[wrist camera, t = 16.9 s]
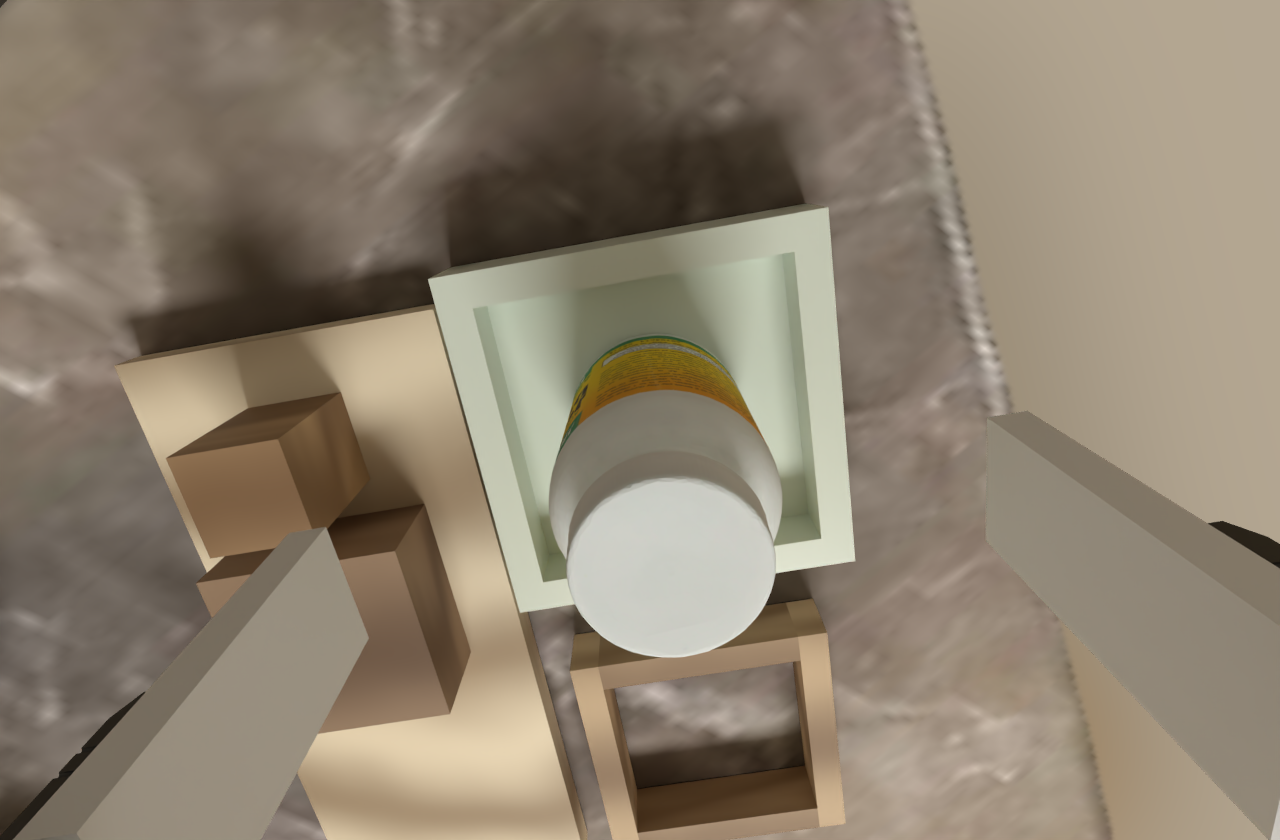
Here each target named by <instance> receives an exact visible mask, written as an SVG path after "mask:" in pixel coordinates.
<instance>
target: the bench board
mask: <svg viewBox="0 0 1280 840" xmlns="http://www.w3.org/2000/svg"><path fill="white" fill-rule="evenodd" d="M114 367H115V369H116V371H117V374H118V376H119V378H120V380H121V382H122V385H123V387H124V389H125V391H126V394H127V396H128V398H129V400H130V402H131V405H132V407H133V409H134V411H135V414H136V416H137V418H138V420H139V422H140V425H141V427H142V429H143V431H144V433H145V436H146V438H147V440H148V442H149V445H150V447H151V449H152V451H153V453H154V456H155V458H156V460H157V462H158V465H159V467H160V469H161V471H162V473H163V476H164V478H165V480H166V482H167V485H168V487H169V489H170V491H171V493H172V496H173V498H174V500H175V502H176V505H177V507H178V509H179V511H180V513H181V516H182V518H183V520H184V522H185V525H186V527H187V529H188V531H189V533H190V536H191V538H192V540H193V542H194V545H195V547H196V549H197V551H198V553H199V556H200V558H201V560H202V562H203V565H204V567H205V569H206V571H207V572H208V571H210V570H211V569H212V568H213V567H214V566H215V565H216V564H217V563H218V562H219V561H220V560H221V559H222V558H223V557H224V556H229V555H236V554H242V553H248V552H254V551H260V550H266V549H273V548H276V547H277V546H278V545H279V544H280V542H281V541H282V540H283V539H284V538H285V537H286V536H287V535H288V534H289V533H292V532H298V531H304V530H310V529H316V528H322V527H326V528H327V529H328V528H329V526H330V525H331V524H332V523H333V522H334V521H335V519H336V518H341V517H348V516H354V515H360V514H366V513H372V512H378V511H384V510H390V509H396V508H402V507H408V506H414V505H421V504H425V506H426V510H427V513H428V516H429V519H430V522H431V525H432V529H433V532H434V535H435V538H436V541H437V545H438V548H439V551H440V554H441V557H442V561H443V564H444V567H445V570H446V573H447V577H448V580H449V583H450V586H451V589H452V593H453V596H454V599H455V602H456V605H457V608H458V612H459V615H460V618H461V621H462V624H463V628H464V631H465V634H466V637H467V640H468V644H469V647H470V650H471V654H470V657H469V660H468V663H467V666H466V669H465V672H464V675H463V677H462V680H461V683H460V686H459V689H458V692H457V695H456V698H455V701H454V704H453V707H452V710H451V713H450V714H448V715H441V716H434V717H428V718H421V719H414V720H408V721H401V722H394V723H387V724H381V725H374V726H367V727H361V728H354V729H347V730H340V731H334V732H327V733H320V734H317V736H316V738H315V740H314V742H313V743H312V745H311V747H310V749H309V751H308V753H307V755H306V756H305V758H304V760H303V762H302V764H301V766H300V768H299V770H298V771H297V773H298V776H299V778H300V780H301V782H302V784H303V787H304V789H305V791H306V793H307V796H308V798H309V800H310V802H311V804H312V807H313V809H314V811H315V813H316V815H317V818H318V820H319V822H320V824H321V827H322V829H323V831H324V833H325V835H326V838H327V840H587V829H586V825H585V821H584V818H583V814H582V810H581V807H580V803H579V799H578V796H577V792H576V788H575V785H574V781H573V777H572V774H571V770H570V766H569V762H568V759H567V755H566V751H565V748H564V744H563V740H562V737H561V733H560V729H559V726H558V722H557V718H556V715H555V711H554V707H553V704H552V700H551V696H550V692H549V689H548V685H547V681H546V678H545V674H544V670H543V667H542V663H541V659H540V656H539V652H538V648H537V645H536V641H535V637H534V634H533V630H532V626H531V622H530V619H529V615H528V612H522V613H520V611H519V607H518V604H517V600H516V597H515V593H514V589H513V586H512V582H511V578H510V575H509V571H508V568H507V564H506V560H505V557H504V553H503V550H502V546H501V542H500V539H499V535H498V531H497V528H496V524H495V521H494V517H493V513H492V510H491V506H490V502H489V499H488V495H487V492H486V488H485V484H484V481H483V477H482V473H481V470H480V466H479V463H478V459H477V455H476V452H475V448H474V445H473V441H472V437H471V434H470V430H469V426H468V423H467V419H466V416H465V412H464V408H463V405H462V401H461V397H460V394H459V390H458V387H457V383H456V379H455V376H454V372H453V368H452V365H451V361H450V358H449V354H448V350H447V347H446V343H445V340H444V336H443V332H442V329H441V325H440V321H439V318H438V314H437V311H436V307H435V304H430V305H425V306H419V307H413V308H408V309H402V310H396V311H391V312H385V313H380V314H374V315H368V316H363V317H357V318H351V319H346V320H340V321H335V322H329V323H323V324H318V325H312V326H306V327H301V328H295V329H290V330H284V331H278V332H273V333H267V334H261V335H256V336H250V337H245V338H239V339H233V340H228V341H222V342H216V343H211V344H205V345H199V346H194V347H188V348H183V349H177V350H171V351H166V352H160V353H154V354H149V355H143V356H139V357H137V358H134V359H131V360H128V361H126V362H123V363H120V364H118V365H115V366H114Z"/></svg>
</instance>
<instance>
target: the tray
mask: <svg viewBox="0 0 1280 840" xmlns="http://www.w3.org/2000/svg"><path fill="white" fill-rule="evenodd" d="M428 282H429V285H430V289H431V292H432V296H433V300H434V303H435V307H436V311H437V314H438V318H439V321H440V325H441V329H442V332H443V336H444V340H445V343H446V347H447V350H448V354H449V358H450V361H451V365H452V368H453V372H454V376H455V379H456V383H457V387H458V390H459V394H460V397H461V401H462V405H463V408H464V412H465V416H466V419H467V423H468V426H469V430H470V434H471V437H472V441H473V445H474V448H475V452H476V455H477V459H478V463H479V466H480V470H481V473H482V477H483V481H484V484H485V488H486V492H487V495H488V499H489V502H490V506H491V510H492V513H493V517H494V521H495V524H496V528H497V531H498V535H499V539H500V542H501V546H502V550H503V553H504V557H505V560H506V564H507V568H508V571H509V575H510V578H511V582H512V586H513V589H514V593H515V597H516V600H517V604H518V607H519V611H520V613H522V612H528V611H535V610H541V609H548V608H554V607H561V606H567V605H573V604H575V603H574V601H573V599H572V596H571V593H570V590H569V586H568V581H567V575H566V558H565V557H564V555H563V553H562V552H561V550H560V548H559V546H558V544H557V541H556V539H555V536H554V533H553V530H552V526H551V521H550V514H549V488H550V482H551V476H552V472H553V468H554V465H555V461H556V458H557V454H558V451H559V448H560V444H561V441H562V438H563V434H564V431H565V428H566V424H567V421H568V417H569V414H570V410H571V407H572V403H573V399H574V396H575V393H576V390H577V387H578V385H579V383H580V381H581V379H582V377H583V376H584V374H585V372H586V371H587V370H588V368H589V367H590V366H591V365H592V363H593V362H594V361H595V360H596V359H597V358H598V357H599V356H601V355H602V354H603V353H604V352H605V351H607V350H608V349H609V348H611V347H612V346H614V345H616V344H617V343H619V342H621V341H623V340H625V339H628V338H631V337H634V336H638V335H645V334H669V335H675V336H679V337H683V338H686V339H688V340H691V341H693V342H695V343H697V344H699V345H701V346H702V347H704V348H705V349H707V350H708V351H709V352H711V353H712V354H713V355H714V356H715V357H716V358H717V359H718V360H719V361H720V362H721V363H722V364H723V365H724V366H725V367H726V369H727V370H728V371H729V373H730V374H731V376H732V378H733V379H734V381H735V383H736V385H737V387H738V389H739V391H740V392H741V394H742V397H743V399H744V401H745V403H746V405H747V407H748V409H749V411H750V413H751V415H752V417H753V419H754V420H755V422H756V424H757V426H758V428H759V430H760V432H761V434H762V436H763V438H764V440H765V442H766V444H767V445H768V447H769V450H770V452H771V454H772V456H773V458H774V460H775V463H776V466H777V469H778V473H779V477H780V481H781V488H782V514H781V519H780V524H779V529H778V532H777V535H776V538H775V540H774V548H775V553H776V573H780V572H787V571H793V570H800V569H806V568H813V567H819V566H825V565H832V564H838V563H845V562H851V561H855V553H854V540H853V527H852V514H851V500H850V487H849V474H848V461H847V448H846V435H845V421H844V408H843V395H842V382H841V369H840V356H839V342H838V329H837V316H836V303H835V290H834V277H833V263H832V250H831V237H830V224H829V211H828V207H824V206H818V205H812V204H800V205H795V206H789V207H784V208H778V209H772V210H767V211H761V212H756V213H750V214H745V215H739V216H734V217H728V218H722V219H717V220H711V221H706V222H700V223H695V224H689V225H684V226H678V227H672V228H667V229H661V230H656V231H650V232H645V233H639V234H634V235H628V236H622V237H617V238H611V239H606V240H600V241H595V242H589V243H584V244H578V245H573V246H567V247H561V248H556V249H550V250H545V251H539V252H534V253H528V254H523V255H517V256H511V257H506V258H500V259H495V260H489V261H484V262H478V263H473V264H467V265H461V266H456V267H451V268H449V269H447V270H445V271H443V272H441V273H439V274H437V275H435V276H433V277H431V278H429V279H428Z"/></svg>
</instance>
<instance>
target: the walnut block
mask: <svg viewBox="0 0 1280 840" xmlns="http://www.w3.org/2000/svg"><path fill="white" fill-rule="evenodd" d="M327 531H328V533H329V536H330V539H331V541H332V544H333V546H334V549H335V551H336V554H337V557H338V559H339V562H340V564H341V567H342V570H343V572H344V575H345V577H346V580H347V583H348V585H349V588H350V590H351V593H352V595H353V598H354V601H355V603H356V606H357V608H358V611H359V614H360V616H361V619H362V621H363V624H364V627H365V629H366V632H367V634H368V637H369V639H368V641H367V643H366V644H365V646H364V648H363V650H362V652H361V654H360V656H359V658H358V659H357V661H356V663H355V665H354V667H353V669H352V671H351V672H350V674H349V676H348V678H347V680H346V682H345V684H344V686H343V687H342V689H341V691H340V693H339V695H338V697H337V699H336V700H335V702H334V704H333V706H332V708H331V710H330V712H329V714H328V715H327V717H326V719H325V721H324V723H323V725H322V727H321V728H320V730H319V732H318V734H320V733H327V732H334V731H340V730H347V729H354V728H361V727H367V726H374V725H381V724H387V723H394V722H401V721H408V720H414V719H421V718H428V717H434V716H441V715H448V714H450V713H451V710H452V707H453V704H454V701H455V698H456V695H457V692H458V689H459V686H460V683H461V680H462V677H463V675H464V672H465V669H466V666H467V663H468V660H469V657H470V654H471V650H470V647H469V644H468V640H467V637H466V634H465V631H464V628H463V624H462V621H461V618H460V615H459V612H458V608H457V605H456V602H455V599H454V596H453V593H452V589H451V586H450V583H449V580H448V577H447V573H446V570H445V567H444V564H443V561H442V557H441V554H440V551H439V548H438V545H437V541H436V538H435V535H434V532H433V529H432V525H431V522H430V519H429V516H428V513H427V510H426V506H425V504H421V505H414V506H408V507H402V508H396V509H390V510H384V511H378V512H372V513H366V514H360V515H354V516H348V517H341V518H336V519H335V521H334V522H333V523H332V524H331V525H330V526H329V528H328V529H327ZM274 549H275V548H273V549H266V550H260V551H254V552H248V553H242V554H236V555H229V556H224V557H223V558H222V559H221V560H220V561H219V562H218V563H217V564H216V565H215V566H214V567H213V568H212V569H211V570H210V571H208V572H207V573H206V574H205V575H204V576H203V577H202V578H201V579H200V580H199V581H198V582H197V583H196V584H197V586H198V589H199V591H200V593H201V595H202V597H203V599H204V602H205V604H206V606H207V608H208V610H209V613H210V615H211V617H212V618H213V617H214V616H215V615H216V614H217V612H218V611H219V610H220V609H221V608H222V607H223V606H224V605H225V604H226V602H227V601H228V600H229V599H230V598H231V597H232V596H233V595H234V594H235V592H236V591H237V590H238V589H239V588H240V587H241V586H242V585H243V584H244V582H245V581H246V580H247V579H248V578H249V577H250V576H251V575H252V574H253V572H254V571H255V570H256V569H257V568H258V567H259V566H260V565H261V564H262V562H263V561H264V560H265V559H266V558H267V557H268V556H269V555H270V554H271V552H272V551H273V550H274Z"/></svg>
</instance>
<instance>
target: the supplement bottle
mask: <svg viewBox="0 0 1280 840" xmlns="http://www.w3.org/2000/svg"><path fill="white" fill-rule="evenodd" d="M549 514H550V521H551V526H552V530H553V533H554V536H555V539H556V541H557V544H558V546H559V548H560V550H561V552H562V553H563V555H564V557H565V558H566V575H567V581H568V586H569V590H570V593H571V596H572V599H573V601H574V603H575V605H576V607H577V609H578V610H579V612H580V614H581V615H582V617H583V618H584V619H585V620H586V621H587V623H588V624H589V625H590V626H591V627H592V628H593V629H594V630H595V631H596V632H598V633H599V634H600V635H601V636H602V637H603V638H605V639H607V640H608V641H610V642H611V643H613V644H615V645H616V646H619V647H621V648H623V649H626V650H628V651H631V652H634V653H638V654H642V655H647V656H654V657H671V658H675V657H686V656H691V655H696V654H700V653H704V652H708V651H710V650H712V649H715V648H717V647H719V646H721V645H723V644H725V643H727V642H729V641H730V640H732V639H734V638H735V637H736V636H738V635H739V634H741V633H742V632H743V631H744V630H745V629H746V628H747V627H748V626H749V625H750V624H751V623H752V622H753V621H754V620H755V619H756V618H757V616H758V615H759V614H760V612H761V611H762V609H763V607H764V606H765V604H766V602H767V600H768V598H769V595H770V593H771V590H772V587H773V584H774V579H775V573H776V553H775V548H774V540H775V538H776V535H777V532H778V529H779V524H780V519H781V514H782V488H781V481H780V477H779V473H778V469H777V466H776V463H775V460H774V458H773V456H772V454H771V452H770V450H769V447H768V445H767V444H766V442H765V440H764V438H763V436H762V434H761V432H760V430H759V428H758V426H757V424H756V422H755V420H754V419H753V417H752V415H751V413H750V411H749V409H748V407H747V405H746V403H745V401H744V399H743V397H742V394H741V392H740V391H739V389H738V387H737V385H736V383H735V381H734V379H733V378H732V376H731V374H730V373H729V371H728V370H727V369H726V367H725V366H724V365H723V364H722V363H721V362H720V361H719V360H718V359H717V358H716V357H715V356H714V355H713V354H712V353H711V352H709V351H708V350H707V349H705V348H704V347H702V346H701V345H699V344H697V343H695V342H693V341H691V340H688V339H686V338H683V337H679V336H675V335H669V334H645V335H638V336H634V337H631V338H628V339H625V340H623V341H621V342H619V343H617V344H616V345H614V346H612V347H611V348H609V349H608V350H607V351H605V352H604V353H603V354H602V355H601V356H599V357H598V358H597V359H596V360H595V361H594V362H593V363H592V365H591V366H590V367H589V368H588V370H587V371H586V372H585V374H584V376H583V377H582V379H581V381H580V383H579V385H578V387H577V390H576V393H575V396H574V399H573V403H572V407H571V410H570V414H569V417H568V421H567V424H566V428H565V431H564V434H563V438H562V441H561V444H560V448H559V451H558V454H557V458H556V461H555V465H554V468H553V472H552V476H551V482H550V488H549Z"/></svg>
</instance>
